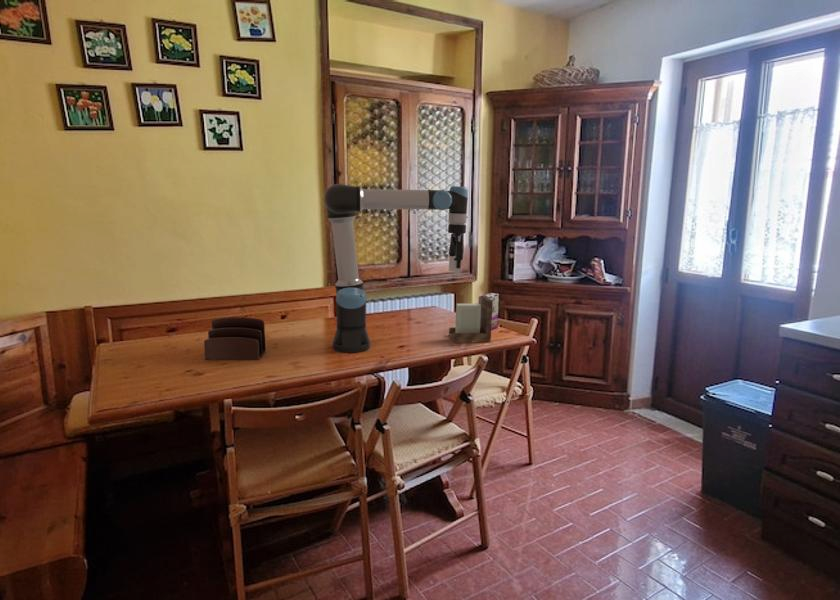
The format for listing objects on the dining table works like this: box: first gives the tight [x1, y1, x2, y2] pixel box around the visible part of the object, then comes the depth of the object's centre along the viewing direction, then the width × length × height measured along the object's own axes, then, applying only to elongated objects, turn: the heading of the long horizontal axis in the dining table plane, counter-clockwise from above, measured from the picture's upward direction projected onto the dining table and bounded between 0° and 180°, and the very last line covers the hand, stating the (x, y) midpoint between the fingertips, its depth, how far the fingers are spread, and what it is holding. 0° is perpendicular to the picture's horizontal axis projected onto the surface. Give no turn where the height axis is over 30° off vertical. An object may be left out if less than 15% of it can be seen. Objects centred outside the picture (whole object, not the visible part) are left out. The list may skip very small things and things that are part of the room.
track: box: [448, 295, 493, 343], centre depth 220 cm, size 16×11×18 cm
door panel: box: [454, 303, 481, 333], centre depth 220 cm, size 10×4×14 cm, turn 97°
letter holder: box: [203, 316, 267, 361], centre depth 190 cm, size 10×20×14 cm, turn 92°
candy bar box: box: [477, 292, 500, 331], centre depth 236 cm, size 11×5×16 cm, turn 143°
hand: (454, 273), depth 219 cm, fingers open, 13 cm apart
